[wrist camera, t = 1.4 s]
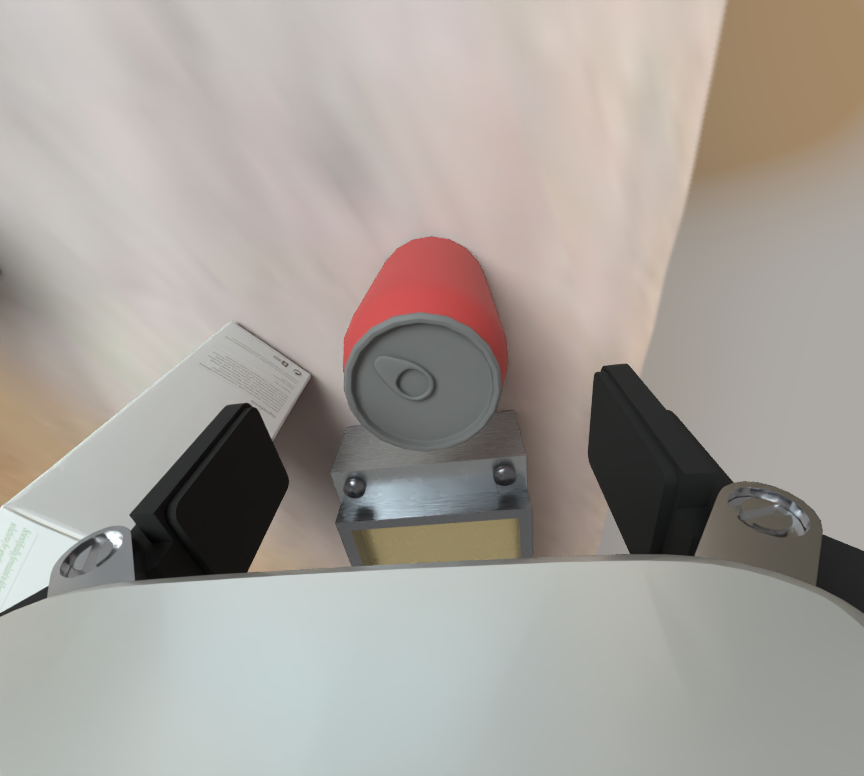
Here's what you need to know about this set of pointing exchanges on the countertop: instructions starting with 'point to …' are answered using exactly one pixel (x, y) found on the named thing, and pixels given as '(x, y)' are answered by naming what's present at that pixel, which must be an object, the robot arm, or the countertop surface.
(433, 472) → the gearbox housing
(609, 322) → the countertop surface
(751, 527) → the robot arm
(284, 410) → the skincare box
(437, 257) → the beer can
